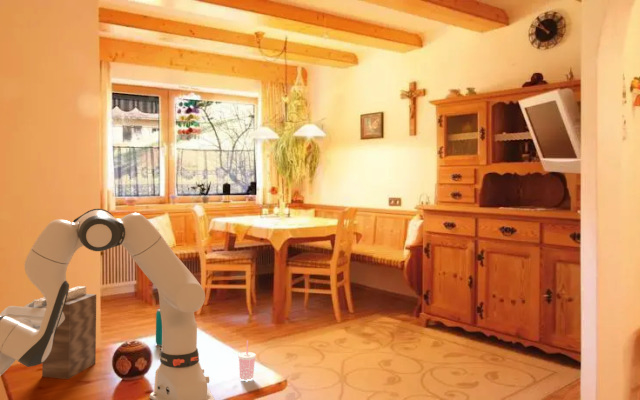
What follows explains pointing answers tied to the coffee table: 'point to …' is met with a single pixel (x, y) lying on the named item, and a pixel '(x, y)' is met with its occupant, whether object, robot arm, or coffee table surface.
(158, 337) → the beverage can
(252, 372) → the beverage cup
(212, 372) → the coffee table surface
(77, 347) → the wavy grain block
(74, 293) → the wooden bar
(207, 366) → the coffee table surface
